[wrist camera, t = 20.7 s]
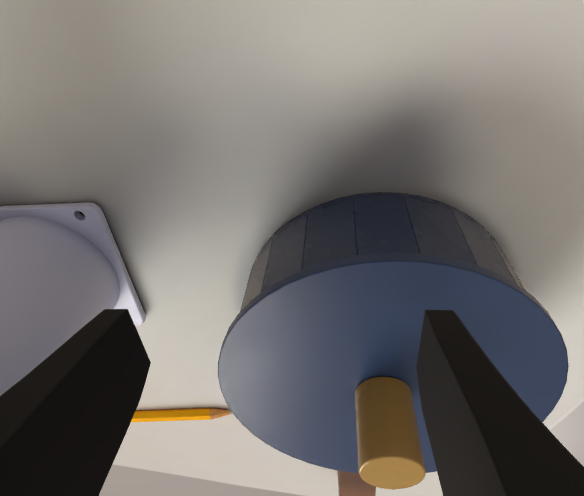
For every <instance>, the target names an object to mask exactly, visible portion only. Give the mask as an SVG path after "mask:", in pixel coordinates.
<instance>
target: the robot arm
mask: <svg viewBox="0 0 584 496" xmlns="http://www.w3.org/2000/svg"><path fill="white" fill-rule="evenodd" d="M78 211H80V212H82V213H83V214H84V215H85V216H83V215H81V214H80V213H79V212H78ZM145 319H146V316H145V313H144V311H143V308H142V306H141V303H140V301H139V299H138V296H137V294H136V291H135V289H134V286H133V284H132V282H131V279H130V277H129V274H128V272H127V269H126V267H125V265H124V262H123V260H122V257H121V255H120V252H119V250H118V248H117V245H116V243H115V240H114V238H113V235H112V233H111V231H110V228H109V226H108V223H107V221H106V218H105V216H104V214H103V211H102V210H101V208H100V207H99V206H98V205H96V204H94V203H64V204H39V205H15V206H0V496H99V493H100V491H101V489H102V486H103V484H104V482H105V479H106V477H107V475H108V473H109V470H110V468H111V466H112V464H113V461H114V459H115V457H116V454H117V452H118V450H119V448H120V445H121V443H122V441H123V439H124V436H125V434H126V432H127V429H128V427H129V425H130V422H131V420H132V418H133V415H134V413H135V411H136V408H137V406H138V403H139V401H140V398H141V395H142V391H143V388H144V385H145V381H146V378H147V374H148V370H149V367H150V363H151V362H150V360H149V358H148V355H147V353H146V351H145V348H144V346H143V344H142V341H141V339H140V337H139V334H138V332H137V329H136V327H135V326H138V325H142V324H143V323H144V321H145ZM416 370H417V377H418V385H419V393H420V400H421V406H422V412H423V416H424V420H425V424H426V428H427V432H428V436H429V440H430V444H431V448H432V452H433V456H434V460H435V464H436V468H437V472H438V476H439V480H440V484H441V488H442V492H443V496H584V467H583V466H582V465H581V464H580V463H579V462H578V461H577V459H575V457H574V456H573V455H571V453H570V452H569V451H568V450H567V449H566V448H565V447H564V446H563V445H562V444H561V443H560V442H559V440H558V439H556V437H555V436H554V435H553V434H552V433H551V432H550V431H549V430H548V428H547V427H546V426H545V425H544V424H543V423H542V422H541V421H540V419H539V418H538V417H537V416H536V415H535V414H534V413H533V412H532V410H531V409H530V408H529V407H528V406H527V405H526V403H525V402H524V401H523V400H522V399H521V398H520V396H519V395H518V394H517V393H516V391H515V390H514V389H513V388H512V387H511V385H510V384H509V383H508V382H507V380H506V379H505V378H504V377H503V376H502V374H501V373H500V372H499V371H498V369H497V368H496V367H495V366H494V364H493V363H492V362H491V360H490V359H489V358H488V356H487V355H486V354H485V352H484V351H483V350H482V348H481V347H480V346H479V344H478V343H477V342H476V340H475V339H474V338H473V336H472V335H471V334H470V332H469V331H468V329H467V328H466V326H465V325H464V324H463V322H462V321H461V319H460V318H459V316H458V315H457V314H456V313H455V312H454V311H453V310H425V313H424V320H423V326H422V333H421V340H420V346H419V353H418V359H417V366H416Z"/></svg>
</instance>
